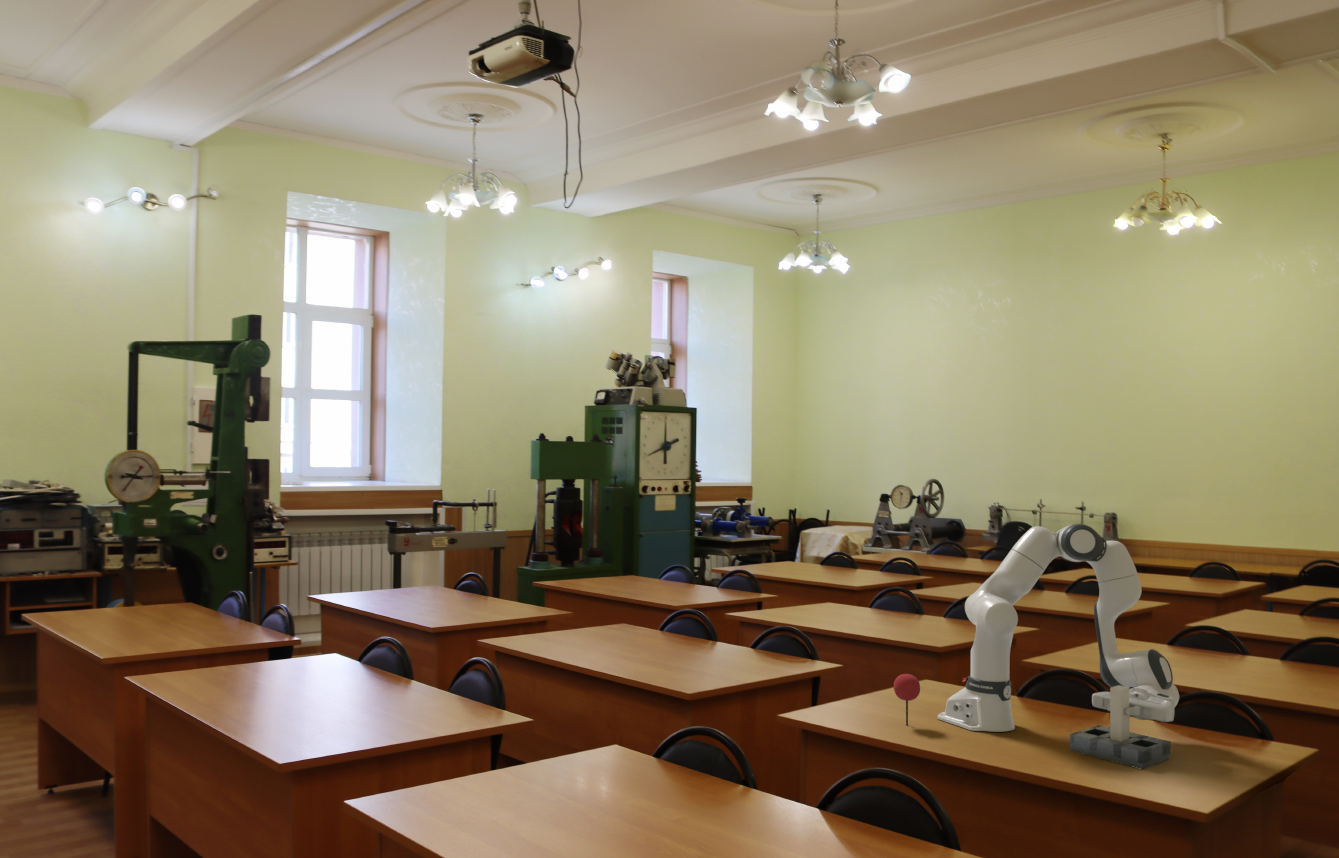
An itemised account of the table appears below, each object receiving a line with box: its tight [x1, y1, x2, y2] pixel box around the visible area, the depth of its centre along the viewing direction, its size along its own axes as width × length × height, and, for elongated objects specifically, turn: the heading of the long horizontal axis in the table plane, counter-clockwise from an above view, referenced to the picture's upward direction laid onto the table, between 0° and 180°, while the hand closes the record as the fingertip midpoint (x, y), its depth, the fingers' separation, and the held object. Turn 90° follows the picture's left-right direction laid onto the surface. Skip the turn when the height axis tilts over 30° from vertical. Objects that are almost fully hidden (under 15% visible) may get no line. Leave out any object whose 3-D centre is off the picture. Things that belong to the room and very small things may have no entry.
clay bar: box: [1109, 685, 1130, 742], centre depth 256 cm, size 4×3×15 cm, turn 129°
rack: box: [1069, 724, 1172, 770], centre depth 256 cm, size 16×20×4 cm
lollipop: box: [893, 673, 921, 726], centre depth 281 cm, size 8×8×15 cm
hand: (1118, 710), depth 256 cm, fingers closed on clay bar, 3 cm apart
